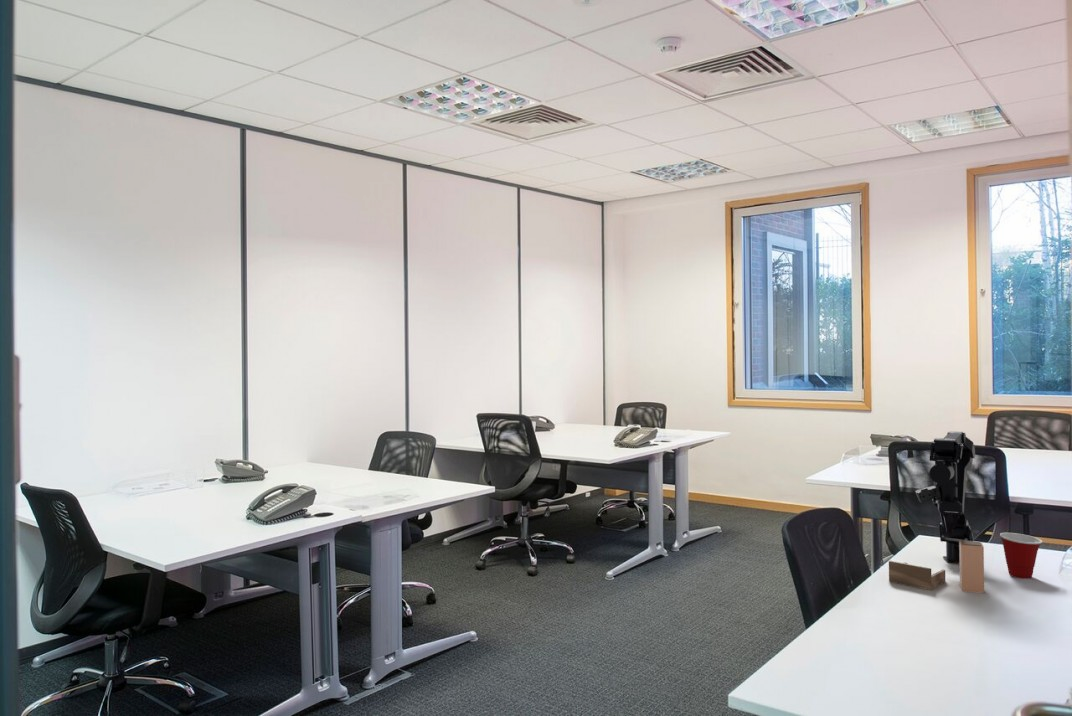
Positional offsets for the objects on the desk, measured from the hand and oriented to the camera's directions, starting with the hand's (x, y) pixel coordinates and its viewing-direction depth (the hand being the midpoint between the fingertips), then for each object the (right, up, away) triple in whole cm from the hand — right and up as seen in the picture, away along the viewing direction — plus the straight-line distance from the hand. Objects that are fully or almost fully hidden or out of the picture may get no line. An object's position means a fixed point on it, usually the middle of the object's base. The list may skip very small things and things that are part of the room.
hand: (947, 529), depth 231 cm
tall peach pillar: (-2, -13, -17) cm, 21 cm away
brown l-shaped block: (-14, -13, -9) cm, 21 cm away
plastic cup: (+19, -13, -5) cm, 24 cm away
